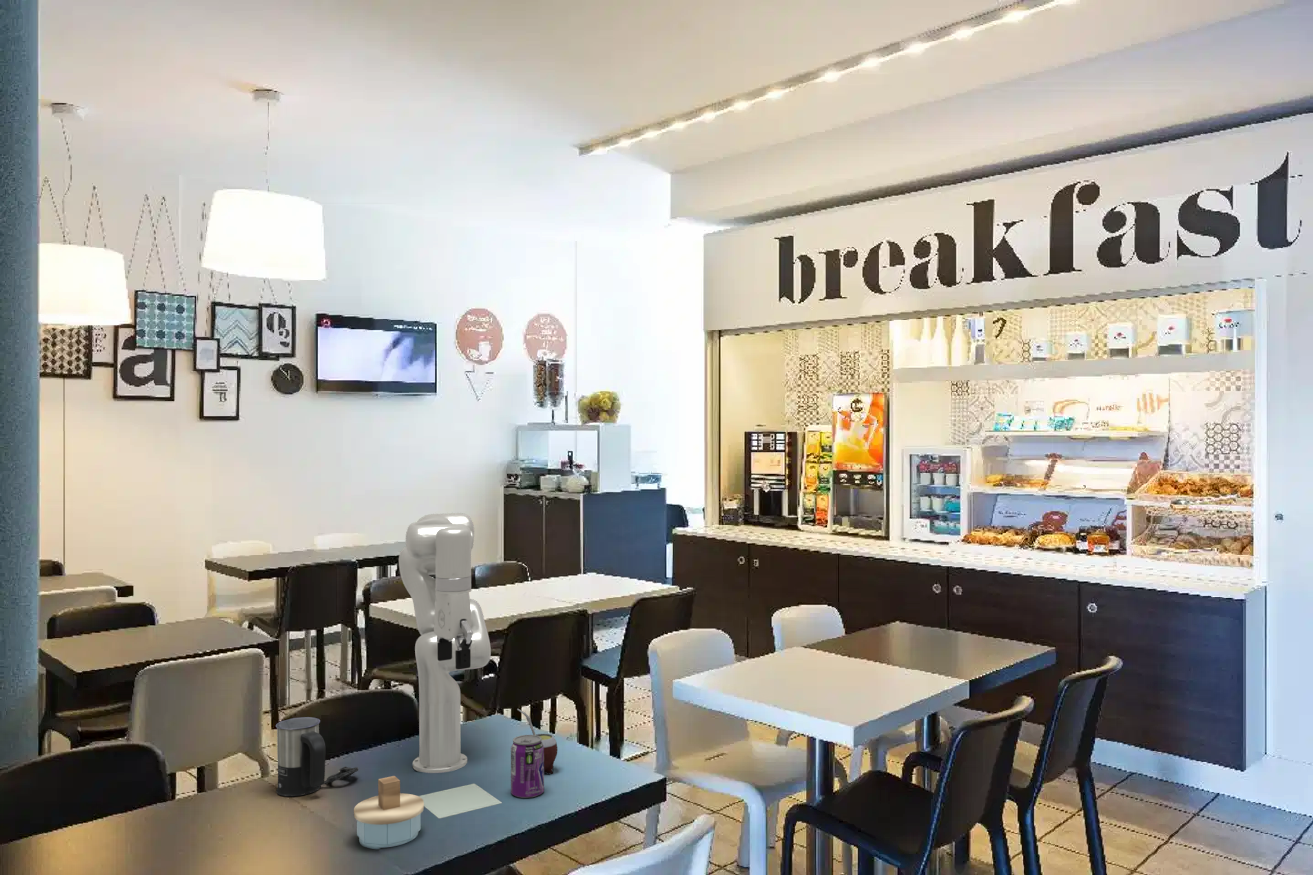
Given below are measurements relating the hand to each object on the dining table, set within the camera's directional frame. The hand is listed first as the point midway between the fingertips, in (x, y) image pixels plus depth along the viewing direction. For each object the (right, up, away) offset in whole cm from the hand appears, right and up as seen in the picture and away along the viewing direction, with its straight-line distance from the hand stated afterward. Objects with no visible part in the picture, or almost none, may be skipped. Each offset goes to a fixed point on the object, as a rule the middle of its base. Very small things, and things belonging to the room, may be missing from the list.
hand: (453, 664), depth 204 cm
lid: (-8, -23, -22) cm, 33 cm away
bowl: (-8, -28, -22) cm, 36 cm away
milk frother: (-32, -29, +6) cm, 43 cm away
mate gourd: (+17, -29, +14) cm, 36 cm away
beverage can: (+16, -28, 0) cm, 33 cm away
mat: (+2, -28, -4) cm, 29 cm away
